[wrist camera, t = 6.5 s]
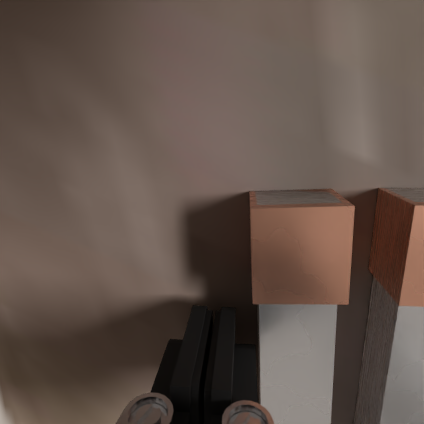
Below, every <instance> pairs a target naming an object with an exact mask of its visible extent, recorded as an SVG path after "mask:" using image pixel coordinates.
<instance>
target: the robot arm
mask: <svg viewBox="0 0 424 424" xmlns="http://www.w3.org/2000/svg"><path fill="white" fill-rule="evenodd" d="M235 317H236V308H232V307H222V309H221V311H216V314H215V321H214V327H213V312H212V310H208V308H207V306H196V305H193V307H192V311H191V314H190V318H189V321H188V325H187V328H186V332H185V335H184V339H183V340H177V339H170V340H169V342H168V344H167V347H166V350H165V353H164V356H163V358H162V361H161V364H160V367H159V370H158V373H157V375H156V378H155V381H154V384H153V387H152V390H151V393H145V394H142V395H140V396H137V397H136V398H134V399H133V400H132V401H130V402H129V404H128V405H127V406H126V407H125V409H124V411H123V412H122V414H121V416H120V417H119V419H118V421H117V422H116V424H274V421H273V419H272V416H271V414H270V413H269V412H268V410H267V409H266V408H265V407H263V406H262V405H260V404H259V403H258V395H257V374H256V352H255V345H252V344H237V343H235Z"/></svg>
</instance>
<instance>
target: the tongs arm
mask: <svg viewBox="0 0 424 424" xmlns="http://www.w3.org/2000/svg"><path fill="white" fill-rule="evenodd" d="M249 200H250V241H251V277H252V299H253V304H257V320H258V372H259V404H260V405H262V406H263V407H265V408H266V409H267V410H268V412H269V413H270V414H271V416H272V419H273V421H274V424H331V410H332V392H333V373H334V355H335V336H336V318H337V305H348V304H349V288H350V273H351V257H352V242H353V226H354V211H355V206H354V205H353V204H351V203H350V202H349V201H347V200H346V199H345V198H343V197H342V196H341V195H339V194H338V193H337V192H335V191H334V190H332V189H311V190H281V191H250V192H249Z"/></svg>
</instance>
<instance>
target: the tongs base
mask: <svg viewBox="0 0 424 424" xmlns="http://www.w3.org/2000/svg"><path fill="white" fill-rule="evenodd" d="M368 270H369V271H370V272H371V273H372V275H373V281H372V288H371V296H370V303H369V311H368V319H367V326H366V334H365V341H364V349H363V357H362V364H361V372H360V379H359V387H358V395H357V402H356V410H355V417H354V424H424V188H378V196H377V204H376V212H375V220H374V228H373V235H372V243H371V251H370V259H369V267H368Z"/></svg>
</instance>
